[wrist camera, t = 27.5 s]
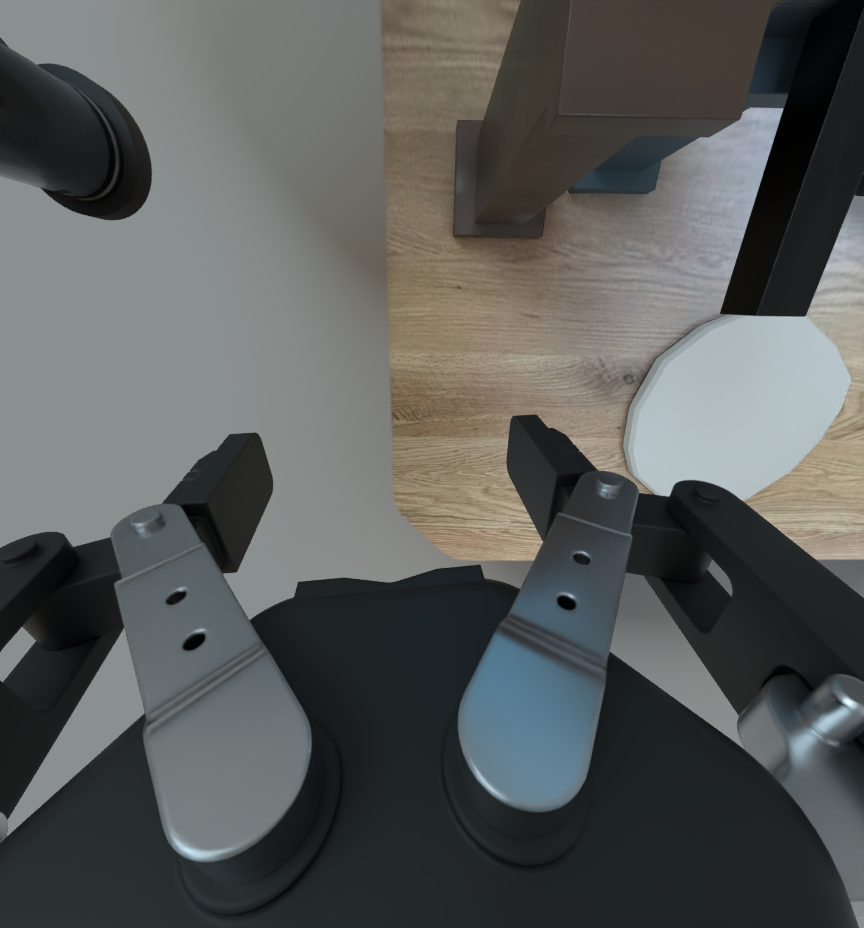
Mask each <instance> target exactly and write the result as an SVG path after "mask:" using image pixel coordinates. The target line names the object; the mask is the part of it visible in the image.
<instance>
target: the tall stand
mask: <svg viewBox="0 0 864 928" xmlns="http://www.w3.org/2000/svg"><path fill="white" fill-rule="evenodd" d="M772 4H773V0H521V2H520V5H519V8H518V12H517V15H516V18H515V21H514V24H513V28H512V31H511V34H510V37H509V40H508V44H507V47H506V50H505V53H504V56H503V60H502V63H501V66H500V69H499V72H498V76H497V79H496V82H495V85H494V88H493V91H492V95H491V98H490V101H489V104H488V107H487V111H486V114H485V117H484V120H483V121H480V120H458V121H457V127H456V158H455V191H454V224H453V237H474V238H540V237H542V234H543V226H544V217H545V208H546V206H548V205H549V204H550V203H552V202H553V201H554V200H555V199H557V198H558V197H559V196H561V195H562V194H563V193H564V192H566V191H567V190H568V189H570V188H571V187H572V186H574V185H575V184H576V183H577V182H579V181H580V180H581V179H583V178H584V177H585V176H586V175H588V174H589V173H590V172H592V171H593V170H594V169H595V168H597V167H598V166H599V165H601V164H602V163H603V162H604V161H606V160H607V159H608V158H610V157H611V156H612V155H613V154H615V153H616V152H617V151H619V150H620V149H621V148H622V147H624V146H625V145H626V144H628V143H629V142H630V141H631V140H633V139H634V138H635V137H637V136H665V137H710V136H712V135H714V134H715V133H717V132H719V131H721V130H722V129H724V128H726V127H728V126H729V125H731V124H733V123H735V122H736V121H738V120H740V118H741V116H742V112H743V109H744V105H745V101H746V98H747V94H748V91H749V87H750V83H751V80H752V76H753V72H754V69H755V65H756V62H757V58H758V54H759V51H760V47H761V43H762V40H763V36H764V33H765V29H766V25H767V22H768V18H769V14H770V11H771V7H772Z"/></svg>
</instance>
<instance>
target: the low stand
mask: <svg viewBox="0 0 864 928" xmlns="http://www.w3.org/2000/svg"><path fill="white" fill-rule="evenodd" d="M805 39H806V38H795V37H763V40H762V43H761V47H760V51H759V54H758V58H757V62H756V65H755V69H754V72H753V76H752V80H751V83H750V87H749V91H748V94H747V98H746V101H745V105H744V109H743V111H745V110H747V109H748V108H750V107H759V108H784V106H785V103H786V100H787V96H788V93H789V90H790V87H791V84H792V80H793V77H794V74H795V71H796V68H797V64H798V61H799V58H800V55H801V52H802V48H803V45H804V42H805ZM698 138H699V137H665V136H637V137H635V138H634V139H633V140H631V141H630V142H629V143H628V144H626V145H625V146H624V147H622V148H621V149H620V150H619V151H617V152H616V153H615V154H613V155H612V156H611V157H610V158H608V159H607V160H606V161H604V162H603V163H602V164H601V165H599V166H598V167H597V168H595V169H594V170H593V171H592V172H590V173H589V174H588V175H586V176H585V177H584V178H583V179H581V180H580V181H579V182H577V183H576V184H575V185H574V186H572V187H571V188H570V189H569V192H570V193H626V194H647V193H649V192H651V191H653V190H655V187H656V182H657V178H658V173H659V168H660V164H661V160H662V159H664V158H666V157H667V156H669V155H671V154H672V153H674V152H676V151H678V150H679V149H681V148H683V147H684V146H686V145H688V144H689V143H691V142H693V141H694V140H696V139H698Z"/></svg>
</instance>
